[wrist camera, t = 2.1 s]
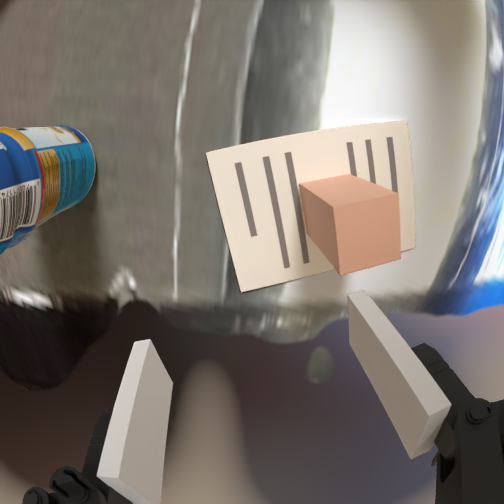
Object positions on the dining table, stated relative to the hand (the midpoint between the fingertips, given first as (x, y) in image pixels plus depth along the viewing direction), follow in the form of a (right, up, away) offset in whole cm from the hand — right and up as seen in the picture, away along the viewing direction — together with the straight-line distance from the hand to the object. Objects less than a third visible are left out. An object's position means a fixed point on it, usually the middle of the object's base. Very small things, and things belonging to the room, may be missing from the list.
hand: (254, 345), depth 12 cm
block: (+7, +8, +16) cm, 19 cm away
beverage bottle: (-18, +12, +12) cm, 25 cm away
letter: (+7, +9, +16) cm, 20 cm away
